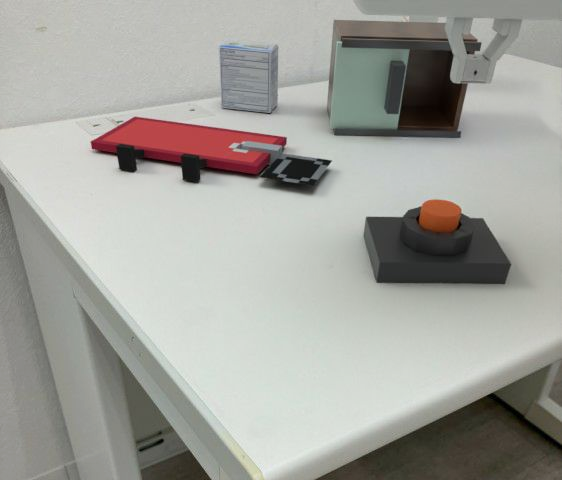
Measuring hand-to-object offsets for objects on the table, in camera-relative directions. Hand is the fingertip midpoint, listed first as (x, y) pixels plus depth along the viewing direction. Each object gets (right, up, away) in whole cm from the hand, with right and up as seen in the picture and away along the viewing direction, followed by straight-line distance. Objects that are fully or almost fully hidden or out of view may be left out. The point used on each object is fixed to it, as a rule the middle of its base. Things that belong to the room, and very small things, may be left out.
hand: (469, 81), depth 47 cm
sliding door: (-3, +11, +36) cm, 37 cm away
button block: (0, -12, +11) cm, 16 cm away
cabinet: (+1, +15, +41) cm, 44 cm away
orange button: (0, -9, +8) cm, 12 cm away
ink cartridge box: (+7, +28, +57) cm, 64 cm away
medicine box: (-20, +18, +44) cm, 51 cm away
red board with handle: (-24, +4, +28) cm, 37 cm away
